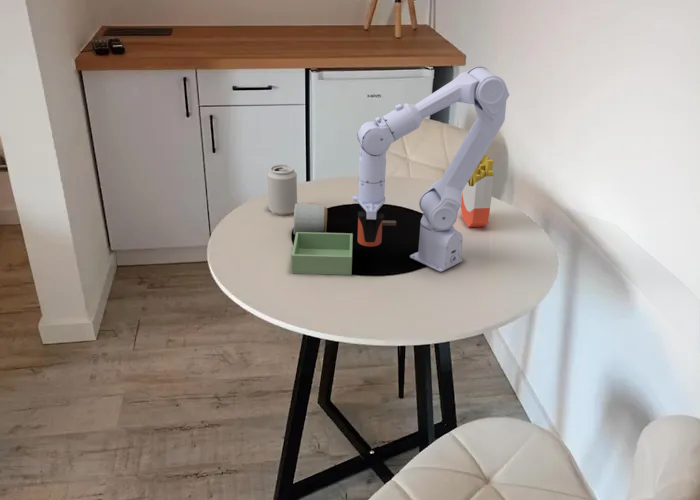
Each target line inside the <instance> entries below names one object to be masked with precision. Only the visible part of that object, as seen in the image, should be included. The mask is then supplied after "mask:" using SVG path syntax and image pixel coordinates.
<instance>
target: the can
mask: <svg viewBox="0 0 700 500" xmlns="http://www.w3.org/2000/svg"><path fill="white" fill-rule="evenodd" d="M297 174H298V173H297V172H296V171H295V167H294V166H292V165H290V164H283V163H282V164H275V165H272V166H270V168H269V171H268V172H267V199H268V200H267V202H268V210H269V211H270V212H272V214H273V215H278V216H287V215H291V214H294V209H295V204H298V175H297Z"/></svg>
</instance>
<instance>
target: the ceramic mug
mask: <svg viewBox="0 0 700 500" xmlns="http://www.w3.org/2000/svg"><path fill="white" fill-rule="evenodd" d="M327 227H328V208H327V207H326V206H323V205H319V204H306V203H297V204H295V209H294V212H293V235H294V236H295V235H296V232H315V233H327V229H328V228H327Z"/></svg>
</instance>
